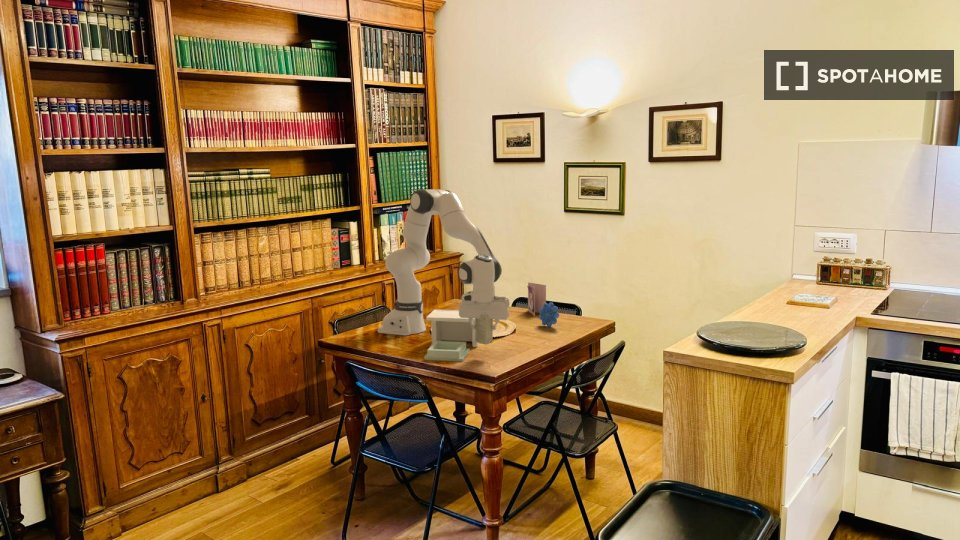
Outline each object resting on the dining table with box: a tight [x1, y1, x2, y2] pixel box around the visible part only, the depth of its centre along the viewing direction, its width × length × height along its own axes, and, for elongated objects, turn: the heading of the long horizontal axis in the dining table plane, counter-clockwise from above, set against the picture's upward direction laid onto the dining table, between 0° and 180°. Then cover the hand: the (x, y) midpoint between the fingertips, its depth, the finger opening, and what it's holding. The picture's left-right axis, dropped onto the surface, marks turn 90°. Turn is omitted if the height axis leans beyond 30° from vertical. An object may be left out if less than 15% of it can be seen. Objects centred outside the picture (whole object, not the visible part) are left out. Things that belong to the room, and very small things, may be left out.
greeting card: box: [526, 282, 547, 317], centre depth 349 cm, size 11×7×15 cm, turn 13°
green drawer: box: [423, 340, 470, 362], centre depth 283 cm, size 16×14×4 cm
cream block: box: [425, 308, 480, 348], centre depth 298 cm, size 22×14×14 cm, turn 79°
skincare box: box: [475, 315, 494, 345], centre depth 278 cm, size 6×4×12 cm
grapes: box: [538, 302, 560, 328], centre depth 324 cm, size 12×7×12 cm, turn 47°
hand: (483, 328), depth 279 cm, fingers closed on skincare box, 7 cm apart
